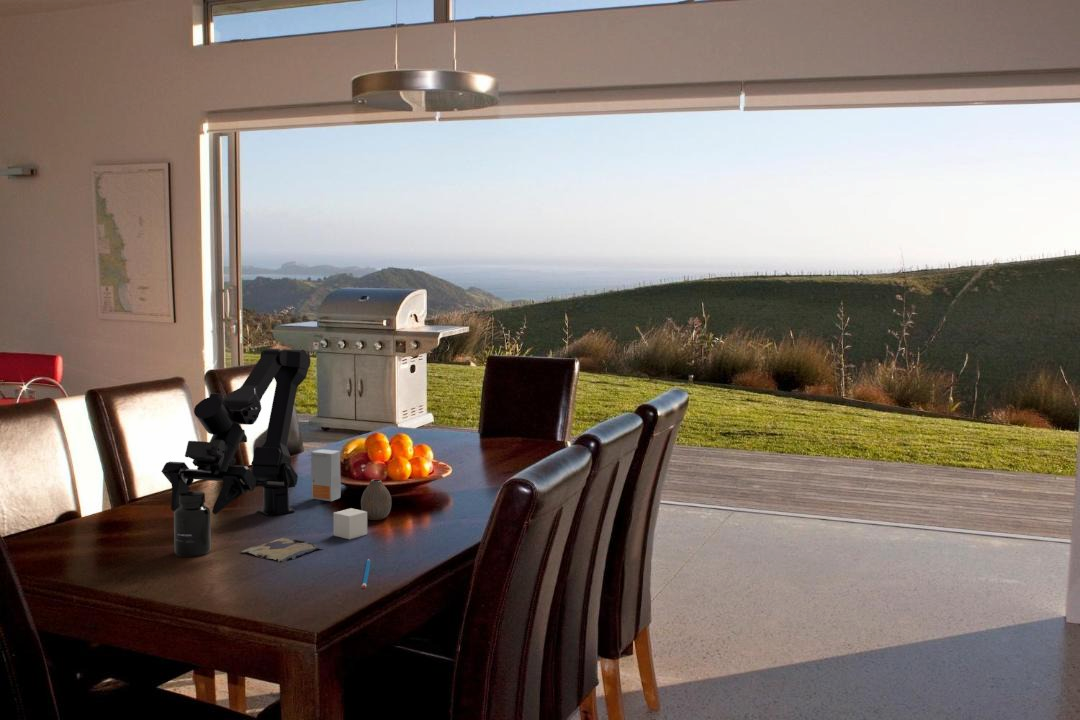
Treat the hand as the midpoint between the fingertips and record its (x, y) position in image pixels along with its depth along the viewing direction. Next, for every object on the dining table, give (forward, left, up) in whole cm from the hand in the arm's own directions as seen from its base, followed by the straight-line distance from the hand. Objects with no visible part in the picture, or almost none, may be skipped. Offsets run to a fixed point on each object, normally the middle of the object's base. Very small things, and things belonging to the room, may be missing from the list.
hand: (193, 511), depth 187 cm
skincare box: (-26, +41, -8) cm, 49 cm away
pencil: (+33, +21, -9) cm, 40 cm away
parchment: (+9, +15, -9) cm, 19 cm away
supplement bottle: (0, 0, -8) cm, 8 cm away
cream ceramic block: (+7, +31, -8) cm, 33 cm away
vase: (-2, +42, -8) cm, 43 cm away
